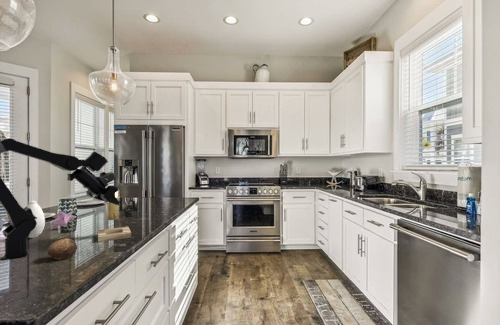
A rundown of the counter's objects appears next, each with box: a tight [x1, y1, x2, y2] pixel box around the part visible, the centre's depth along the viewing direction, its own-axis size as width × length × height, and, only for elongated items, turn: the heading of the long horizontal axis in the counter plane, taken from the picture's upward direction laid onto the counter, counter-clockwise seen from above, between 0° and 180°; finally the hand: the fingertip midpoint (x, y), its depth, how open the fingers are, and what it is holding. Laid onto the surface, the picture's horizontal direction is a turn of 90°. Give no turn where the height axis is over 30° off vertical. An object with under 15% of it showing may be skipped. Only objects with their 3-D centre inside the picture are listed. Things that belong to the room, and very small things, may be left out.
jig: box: [97, 226, 132, 243], centre depth 111 cm, size 12×12×2 cm
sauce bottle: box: [25, 194, 46, 239], centre depth 109 cm, size 8×8×18 cm
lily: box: [49, 210, 77, 230], centre depth 123 cm, size 11×11×9 cm
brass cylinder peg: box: [106, 188, 120, 221], centre depth 114 cm, size 4×4×13 cm
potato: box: [46, 238, 78, 261], centre depth 87 cm, size 8×8×6 cm
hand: (116, 203), depth 115 cm, fingers closed on brass cylinder peg, 4 cm apart
